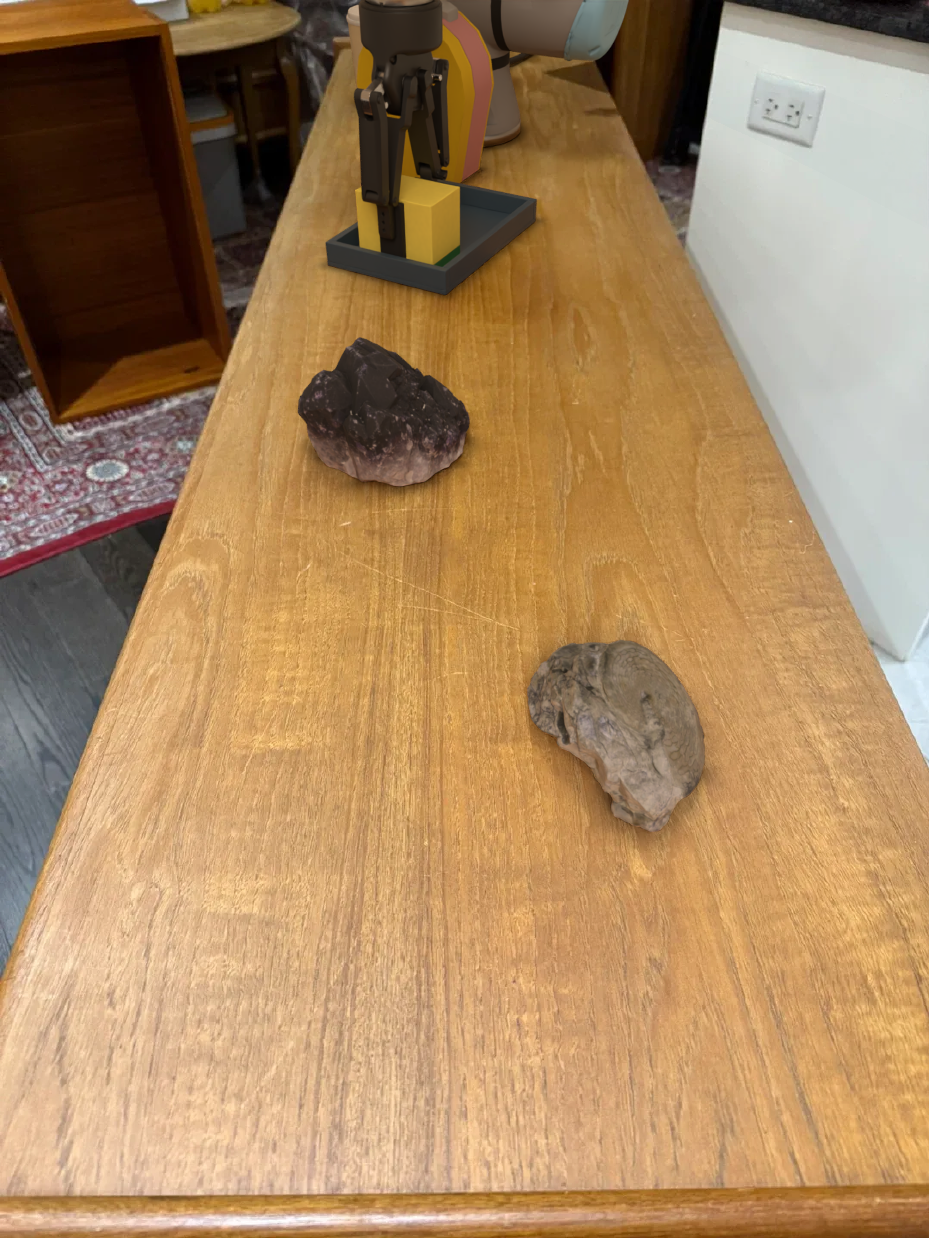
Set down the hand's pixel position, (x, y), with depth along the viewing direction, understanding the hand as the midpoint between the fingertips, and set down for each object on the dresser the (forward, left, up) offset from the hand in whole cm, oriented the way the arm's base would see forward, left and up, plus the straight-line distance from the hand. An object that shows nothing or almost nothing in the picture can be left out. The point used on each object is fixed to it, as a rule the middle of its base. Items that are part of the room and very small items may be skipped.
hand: (410, 253), depth 95 cm
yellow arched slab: (-25, -12, -1) cm, 27 cm away
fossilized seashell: (+49, +43, -1) cm, 66 cm away
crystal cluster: (+30, +16, -1) cm, 34 cm away
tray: (-6, 0, -1) cm, 6 cm away
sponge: (0, 0, 0) cm, 0 cm away
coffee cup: (-46, -32, -1) cm, 56 cm away
